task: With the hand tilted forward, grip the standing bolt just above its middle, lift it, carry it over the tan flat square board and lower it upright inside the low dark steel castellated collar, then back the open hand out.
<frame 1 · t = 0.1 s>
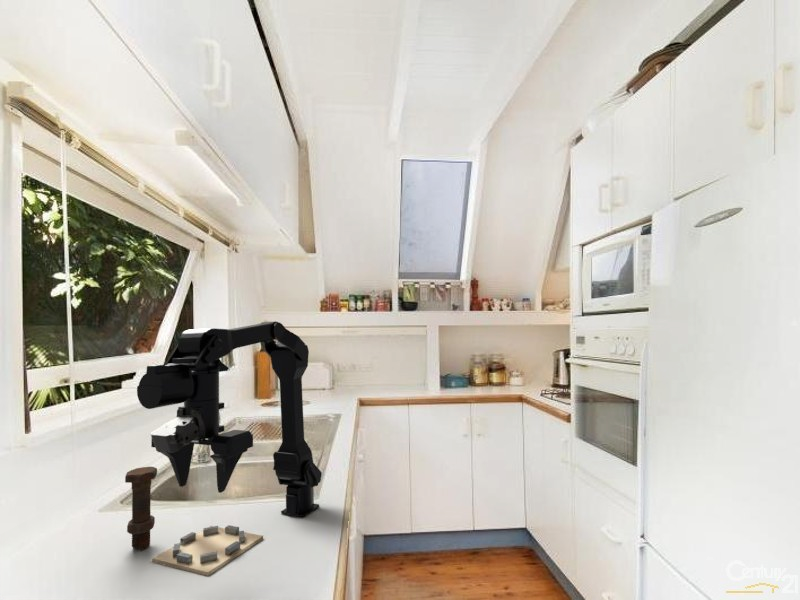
hand: (201, 488, 76), 15 cm above the worktop, tool pointing down, fingers open, 9 cm apart
bolt: (141, 548, 85), on the worktop
castellated ring: (209, 543, 84), on the tan flat square board, point 1 cm above the worktop
tan flat square board: (209, 549, 84), on the worktop
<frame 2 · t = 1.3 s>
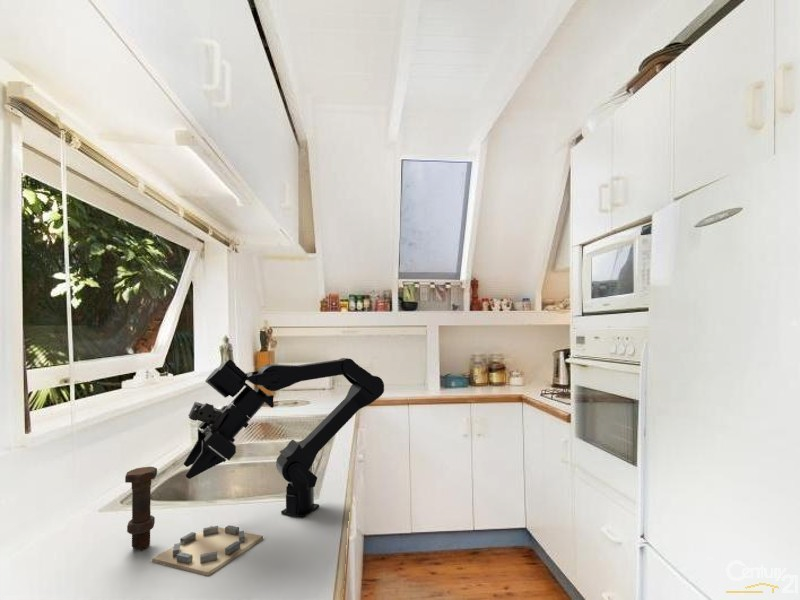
hand: (186, 471, 90), 13 cm above the worktop, tool tilted 45°, fingers open, 9 cm apart
nothing on the worktop moved.
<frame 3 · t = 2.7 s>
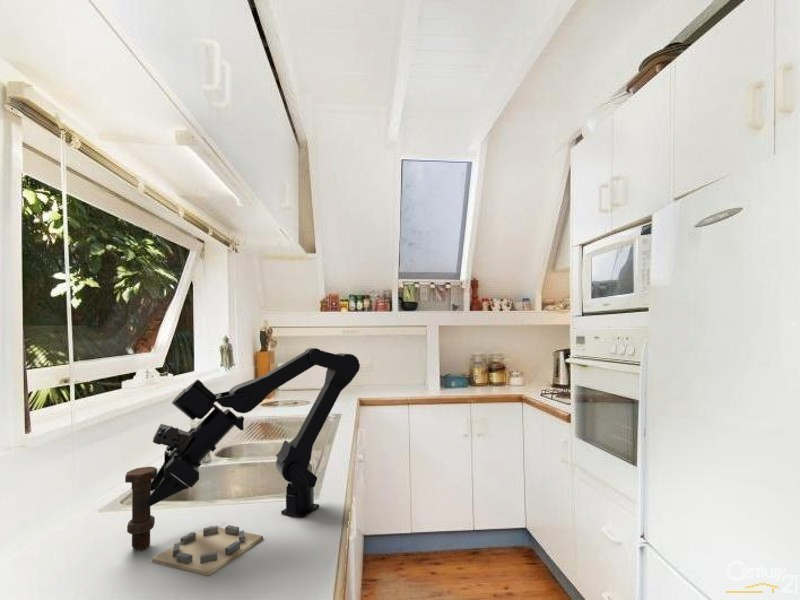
hand: (148, 496, 87), 10 cm above the worktop, tool tilted 45°, fingers open, 9 cm apart
nothing on the worktop moved.
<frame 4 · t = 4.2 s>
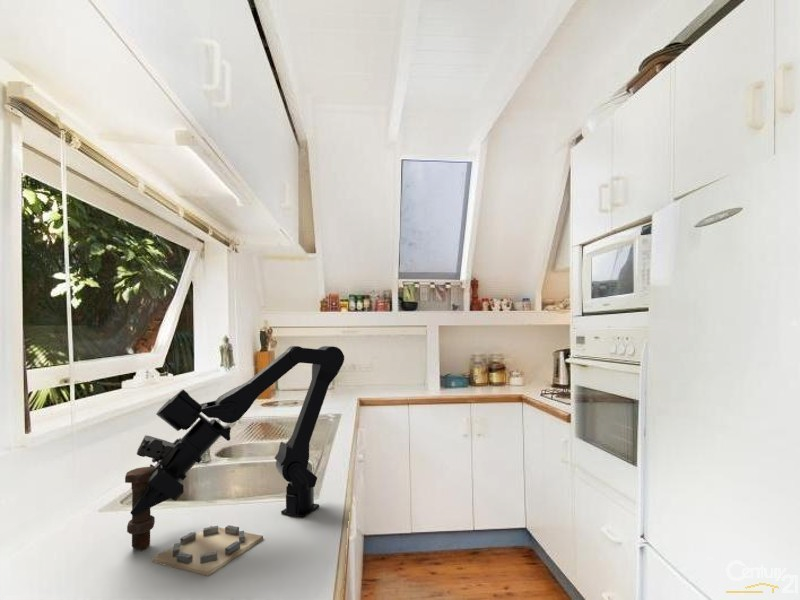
hand: (133, 510, 85), 8 cm above the worktop, tool tilted 45°, fingers closed on bolt, 5 cm apart
bolt: (141, 548, 85), on the worktop, touching gripper
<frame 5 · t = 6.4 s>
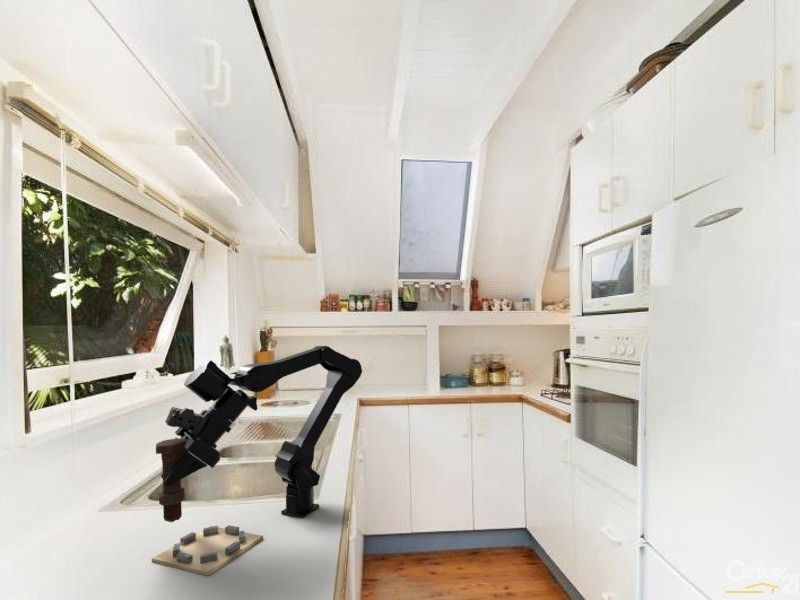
hand: (164, 481, 84), 13 cm above the worktop, tool tilted 45°, fingers closed on bolt, 5 cm apart
bolt: (172, 520, 84), point 6 cm above the worktop, touching gripper
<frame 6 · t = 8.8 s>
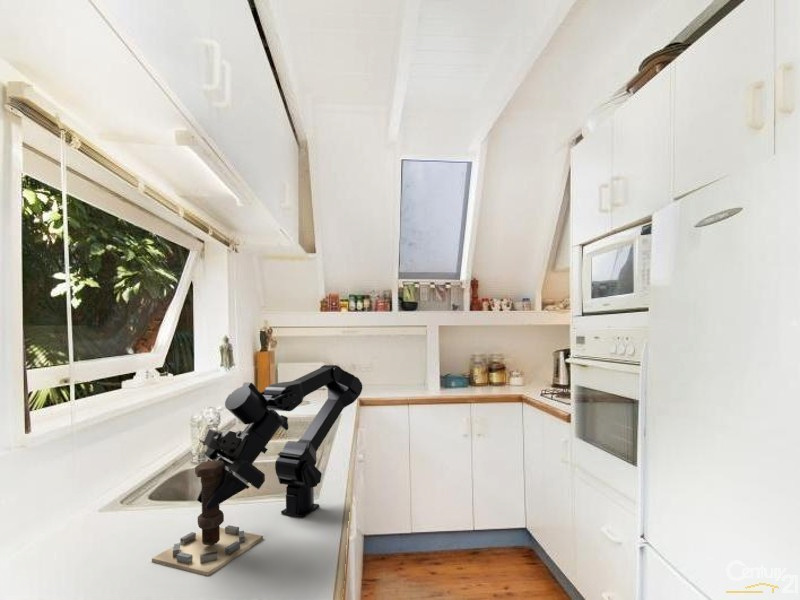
hand: (203, 505, 84), 9 cm above the worktop, tool tilted 45°, fingers closed on bolt, 4 cm apart
bolt: (210, 543, 84), point 1 cm above the worktop, touching gripper
when the fingers open (9 cm above the worktop, at t = 9.1 s): bolt stays where it is, resting on tan flat square board.
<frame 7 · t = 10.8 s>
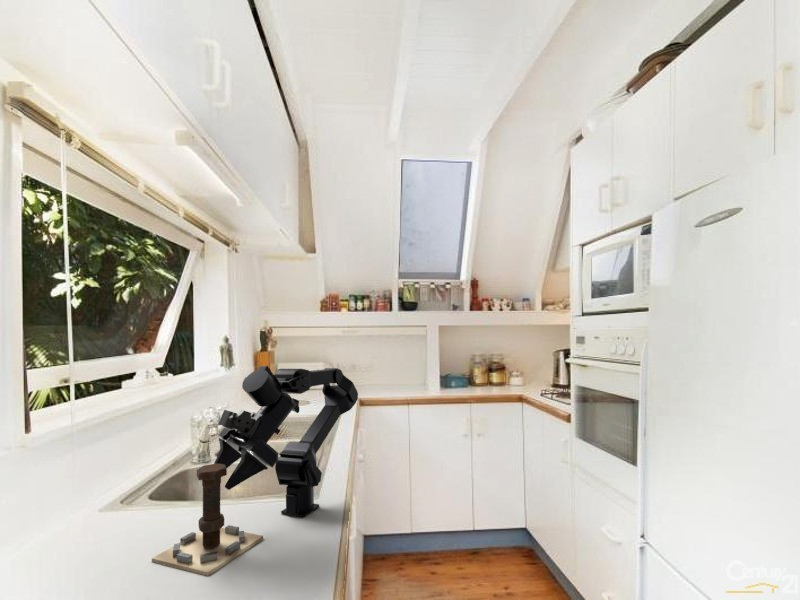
hand: (218, 482, 86), 12 cm above the worktop, tool tilted 45°, fingers open, 9 cm apart
bolt: (211, 547, 84), resting on tan flat square board
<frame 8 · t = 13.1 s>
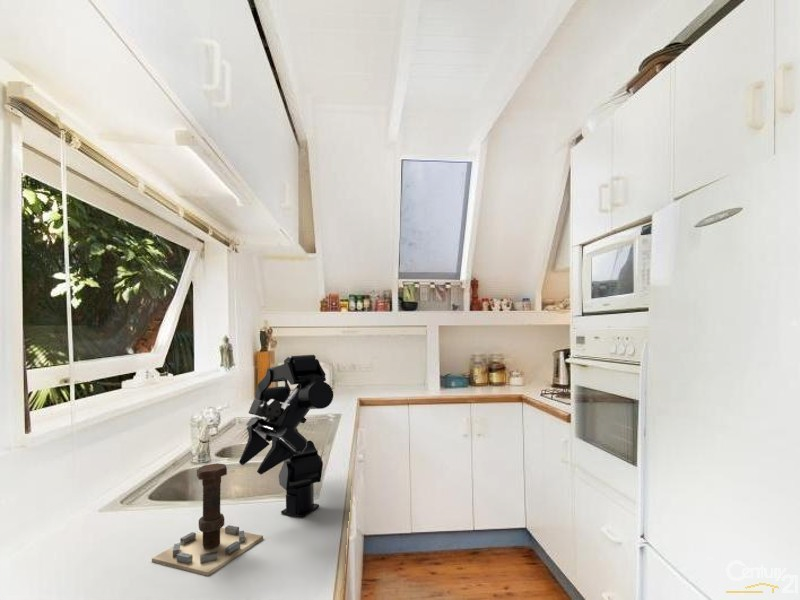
hand: (249, 468, 90), 14 cm above the worktop, tool tilted 45°, fingers open, 9 cm apart
nothing on the worktop moved.
at the end: bolt 0.3 cm off-centre on the tan flat square board, point 0.4 cm above the tan flat square board's base; bolt tilted 1°; the gripper is holding nothing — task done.
